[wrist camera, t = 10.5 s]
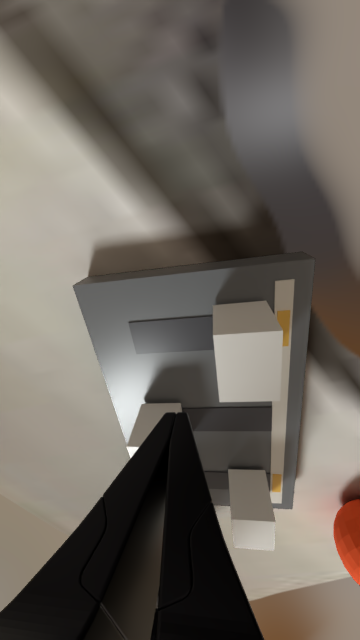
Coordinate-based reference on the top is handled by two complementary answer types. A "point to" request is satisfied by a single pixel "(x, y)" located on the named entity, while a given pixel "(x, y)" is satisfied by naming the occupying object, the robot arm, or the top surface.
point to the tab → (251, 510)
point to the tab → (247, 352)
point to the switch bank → (205, 358)
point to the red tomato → (349, 537)
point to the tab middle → (148, 422)
